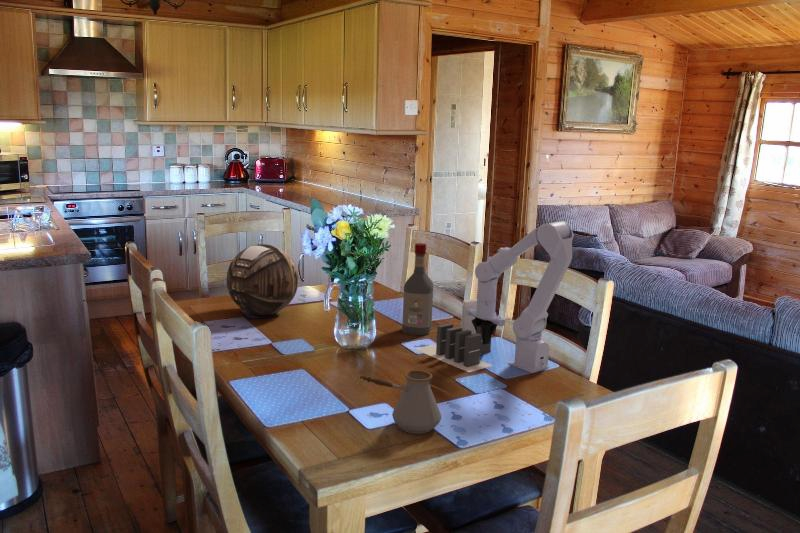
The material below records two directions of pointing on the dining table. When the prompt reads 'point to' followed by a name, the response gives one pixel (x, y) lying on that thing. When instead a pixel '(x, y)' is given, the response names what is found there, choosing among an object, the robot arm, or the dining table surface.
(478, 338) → the domino
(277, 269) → the sphere
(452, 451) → the dining table surface
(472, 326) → the cream rounded block
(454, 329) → the domino
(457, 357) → the domino
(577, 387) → the dining table surface
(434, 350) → the domino board
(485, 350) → the domino
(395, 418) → the coffee pot
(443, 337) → the domino
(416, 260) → the liquor
